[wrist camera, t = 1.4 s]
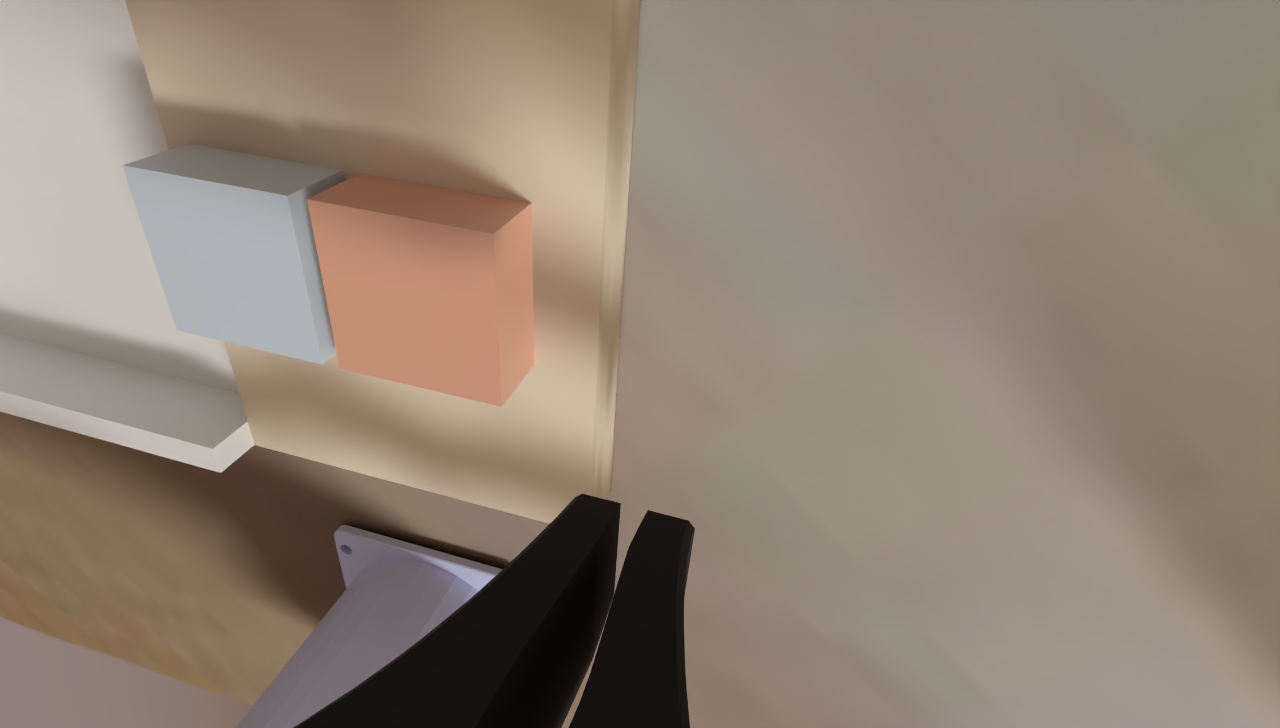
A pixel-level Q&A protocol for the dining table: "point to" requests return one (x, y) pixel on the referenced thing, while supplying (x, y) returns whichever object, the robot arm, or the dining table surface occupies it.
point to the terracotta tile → (428, 284)
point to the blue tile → (237, 246)
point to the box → (94, 248)
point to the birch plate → (444, 157)
